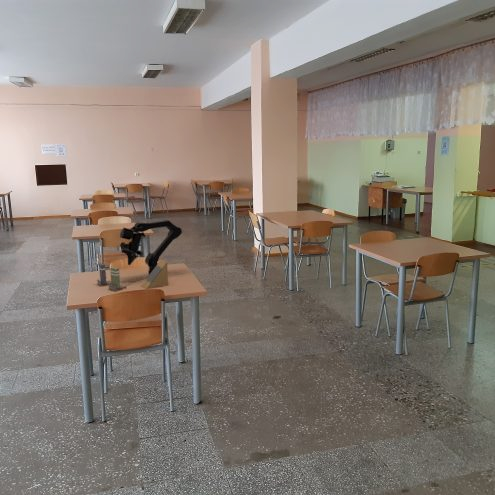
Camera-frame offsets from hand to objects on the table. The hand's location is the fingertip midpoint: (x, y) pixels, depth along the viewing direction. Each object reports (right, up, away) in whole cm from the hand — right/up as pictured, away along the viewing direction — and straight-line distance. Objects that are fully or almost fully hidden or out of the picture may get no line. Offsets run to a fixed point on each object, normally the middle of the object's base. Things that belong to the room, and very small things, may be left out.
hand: (128, 265), depth 301 cm
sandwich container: (+18, -13, -9) cm, 24 cm away
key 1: (-14, -11, -6) cm, 19 cm away
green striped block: (-4, -13, -16) cm, 21 cm away
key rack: (-8, -13, -11) cm, 19 cm away
